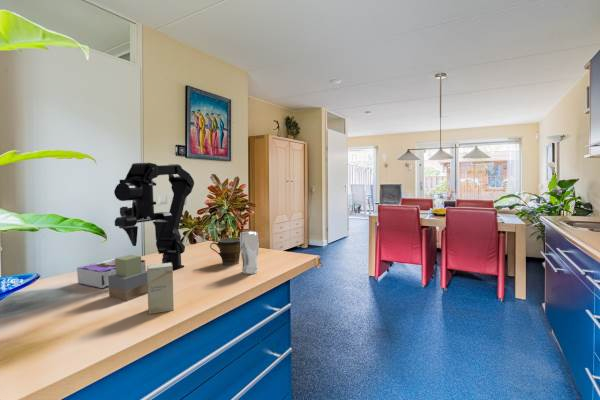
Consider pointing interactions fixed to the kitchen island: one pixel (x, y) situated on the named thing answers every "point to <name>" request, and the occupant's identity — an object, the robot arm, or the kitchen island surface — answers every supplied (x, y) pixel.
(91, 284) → the candy box
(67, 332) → the kitchen island surface
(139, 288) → the walnut block
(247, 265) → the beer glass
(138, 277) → the charcoal block
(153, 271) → the skincare box
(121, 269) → the olive cube
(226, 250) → the ceramic cup
